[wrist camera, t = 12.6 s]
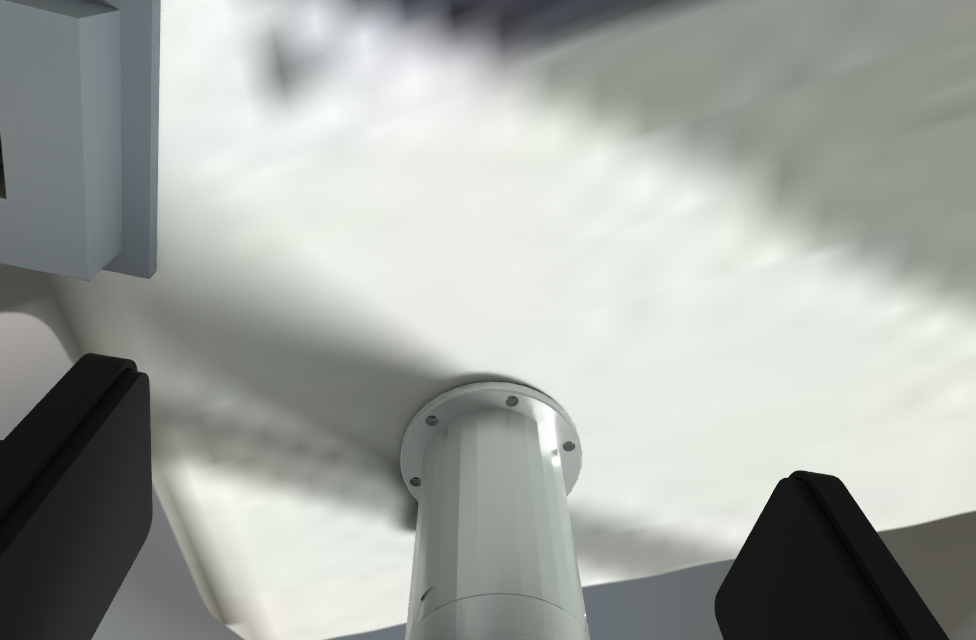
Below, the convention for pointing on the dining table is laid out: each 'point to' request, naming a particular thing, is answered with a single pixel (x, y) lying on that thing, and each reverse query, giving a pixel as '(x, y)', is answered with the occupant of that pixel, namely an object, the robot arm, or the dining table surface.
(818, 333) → the dining table surface
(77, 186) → the socket fitting
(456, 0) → the dining table surface
